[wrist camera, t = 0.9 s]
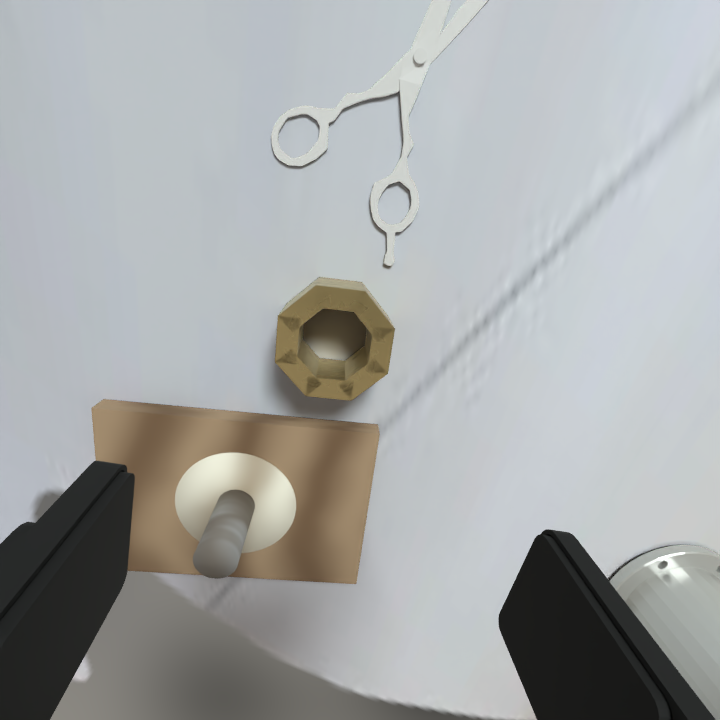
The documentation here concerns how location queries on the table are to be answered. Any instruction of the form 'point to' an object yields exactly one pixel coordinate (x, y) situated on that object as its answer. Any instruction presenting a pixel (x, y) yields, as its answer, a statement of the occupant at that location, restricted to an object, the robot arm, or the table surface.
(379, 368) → the ring
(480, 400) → the table surface
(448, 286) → the table surface
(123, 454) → the post plate
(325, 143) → the scissors
